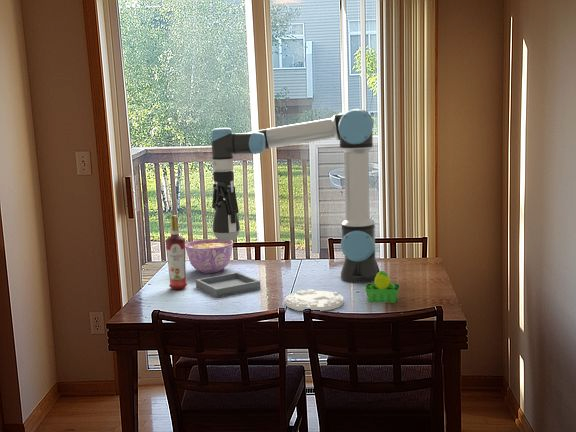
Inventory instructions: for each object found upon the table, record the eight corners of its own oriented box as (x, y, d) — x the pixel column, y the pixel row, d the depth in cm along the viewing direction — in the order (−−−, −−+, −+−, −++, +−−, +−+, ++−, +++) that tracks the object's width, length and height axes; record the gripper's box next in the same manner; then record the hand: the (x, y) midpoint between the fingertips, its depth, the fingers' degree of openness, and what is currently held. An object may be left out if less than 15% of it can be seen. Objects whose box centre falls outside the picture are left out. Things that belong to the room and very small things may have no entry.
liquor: (168, 291, 273) (163, 218, 268) (168, 286, 280) (163, 214, 275) (188, 290, 274) (183, 216, 269) (187, 285, 281) (183, 213, 277)
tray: (260, 288, 271) (260, 281, 271) (216, 297, 262) (216, 289, 262) (238, 279, 287) (237, 272, 286) (196, 287, 278) (195, 279, 277)
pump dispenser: (207, 240, 272) (204, 200, 269) (227, 236, 279) (226, 196, 277) (225, 243, 265) (223, 202, 262) (246, 239, 272) (244, 198, 270)
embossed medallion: (350, 310, 242) (350, 302, 241) (292, 316, 238) (292, 307, 237) (334, 294, 261) (334, 286, 261) (280, 299, 257) (280, 291, 257)
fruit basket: (400, 297, 252) (400, 266, 250) (398, 305, 244) (398, 272, 242) (367, 297, 255) (366, 265, 253) (364, 304, 246) (363, 272, 244)
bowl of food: (228, 276, 292) (226, 248, 290) (180, 276, 295) (178, 248, 294) (239, 265, 311) (238, 238, 309) (194, 265, 315) (193, 238, 313)
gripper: (201, 169, 275) (204, 226, 279) (227, 173, 256) (230, 235, 260) (219, 167, 279) (222, 224, 283) (246, 171, 260) (249, 233, 264)
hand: (226, 229), depth 271 cm, fingers closed on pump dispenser, 10 cm apart
